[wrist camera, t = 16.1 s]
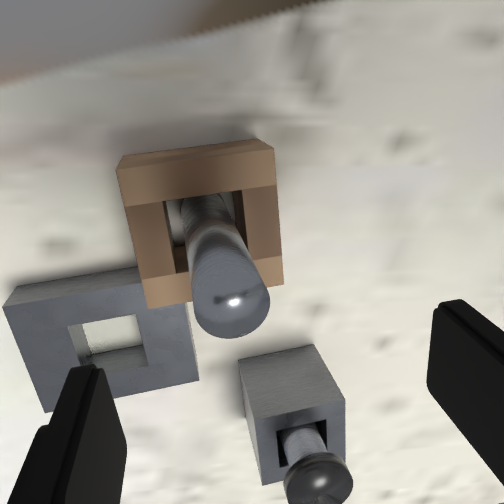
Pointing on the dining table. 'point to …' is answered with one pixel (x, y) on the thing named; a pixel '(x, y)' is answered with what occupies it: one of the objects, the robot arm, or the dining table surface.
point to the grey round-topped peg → (221, 270)
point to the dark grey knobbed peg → (313, 468)
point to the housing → (289, 405)
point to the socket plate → (94, 309)
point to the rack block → (190, 185)
